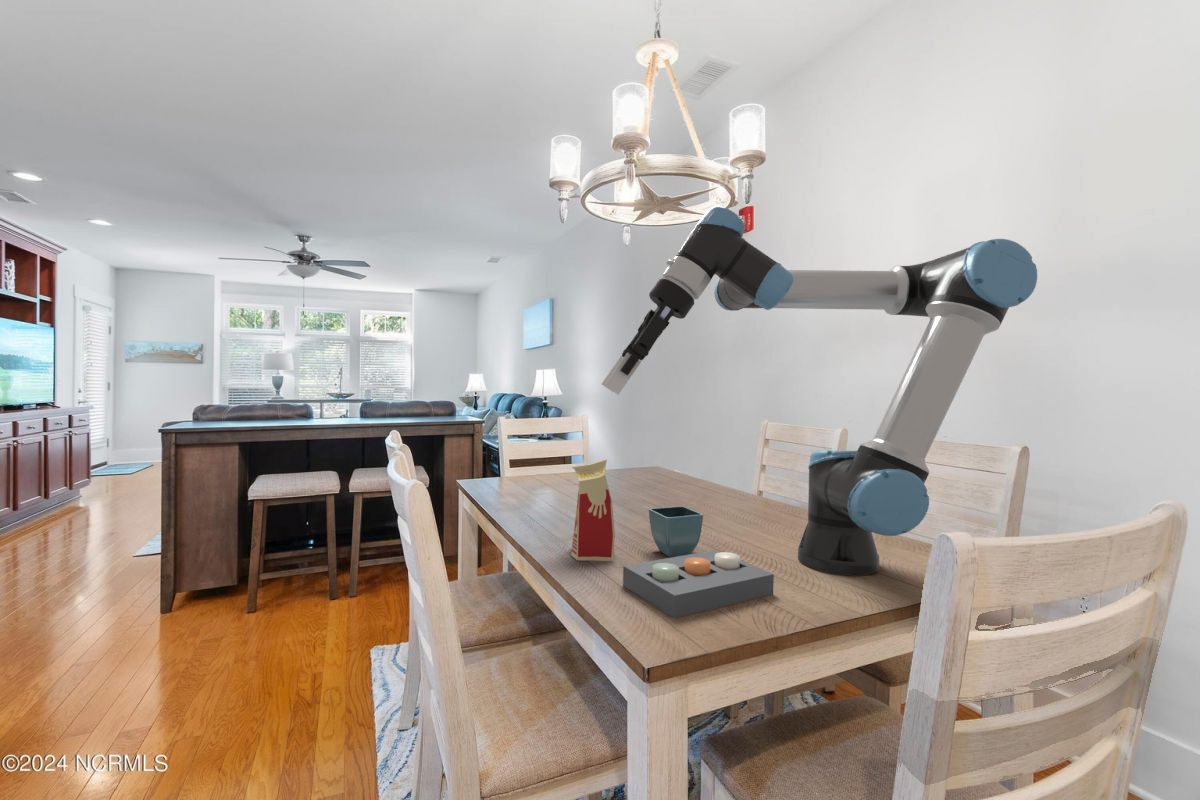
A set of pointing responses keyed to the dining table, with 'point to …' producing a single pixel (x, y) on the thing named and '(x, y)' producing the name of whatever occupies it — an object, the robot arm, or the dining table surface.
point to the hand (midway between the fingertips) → (609, 389)
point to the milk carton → (593, 515)
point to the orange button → (697, 566)
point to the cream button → (727, 560)
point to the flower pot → (675, 529)
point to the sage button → (665, 572)
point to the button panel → (697, 585)
